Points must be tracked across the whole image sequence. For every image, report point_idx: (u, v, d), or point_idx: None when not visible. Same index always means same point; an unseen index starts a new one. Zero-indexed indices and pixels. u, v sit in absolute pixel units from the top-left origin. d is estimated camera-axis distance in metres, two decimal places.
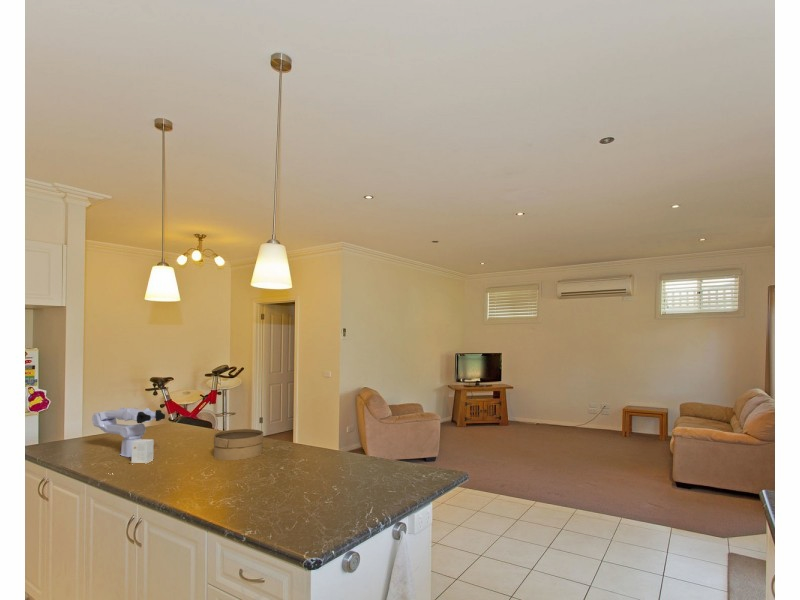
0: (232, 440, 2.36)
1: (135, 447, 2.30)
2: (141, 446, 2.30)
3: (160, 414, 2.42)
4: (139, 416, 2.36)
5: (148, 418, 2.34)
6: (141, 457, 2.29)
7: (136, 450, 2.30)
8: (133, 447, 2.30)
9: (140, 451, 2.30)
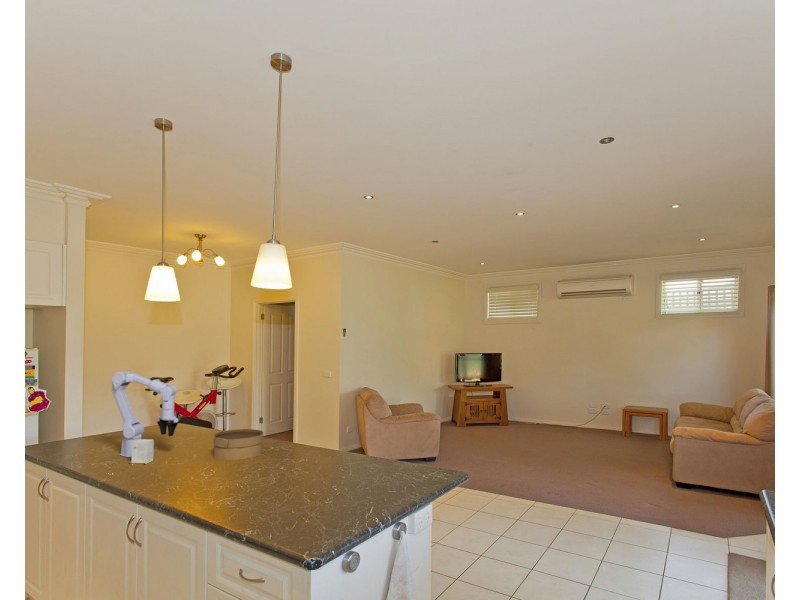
0: (232, 440, 2.36)
1: (135, 447, 2.30)
2: (141, 446, 2.30)
3: (165, 428, 2.48)
4: None
5: (171, 434, 2.44)
6: (141, 457, 2.29)
7: (136, 450, 2.30)
8: (133, 447, 2.30)
9: (140, 451, 2.30)
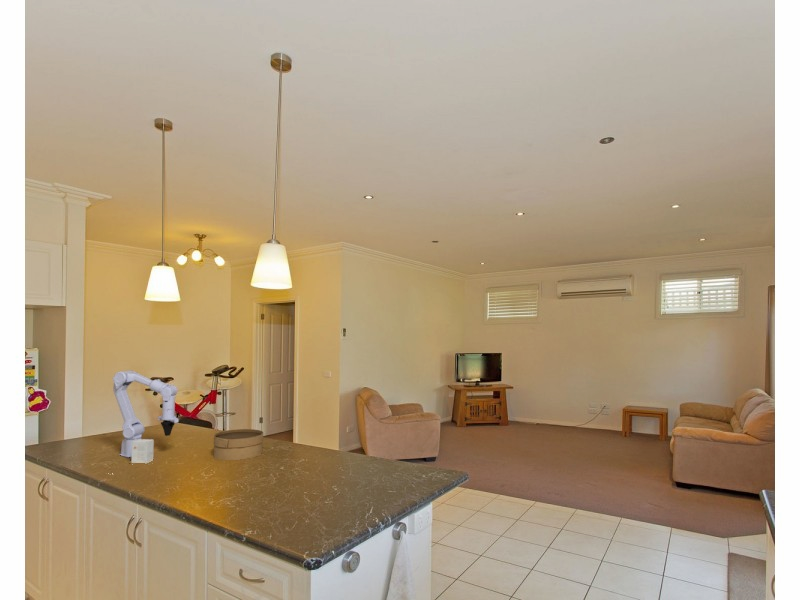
0: (232, 440, 2.36)
1: (135, 447, 2.30)
2: (141, 446, 2.30)
3: None
4: (171, 423, 2.45)
5: (168, 434, 2.45)
6: (141, 457, 2.29)
7: (136, 450, 2.30)
8: (133, 447, 2.30)
9: (140, 451, 2.30)
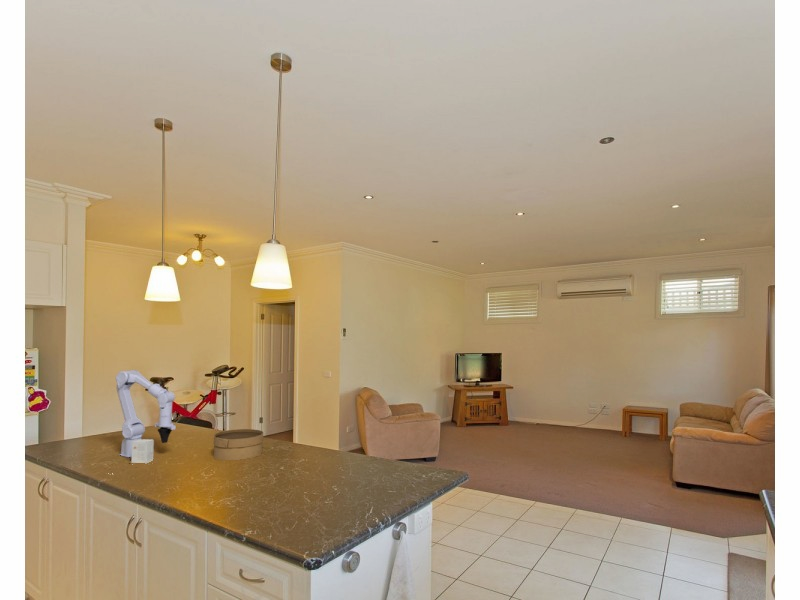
0: (232, 440, 2.36)
1: (135, 447, 2.30)
2: (141, 446, 2.30)
3: None
4: (168, 430, 2.42)
5: (165, 441, 2.42)
6: (141, 457, 2.29)
7: (136, 450, 2.30)
8: (133, 447, 2.30)
9: (140, 451, 2.30)
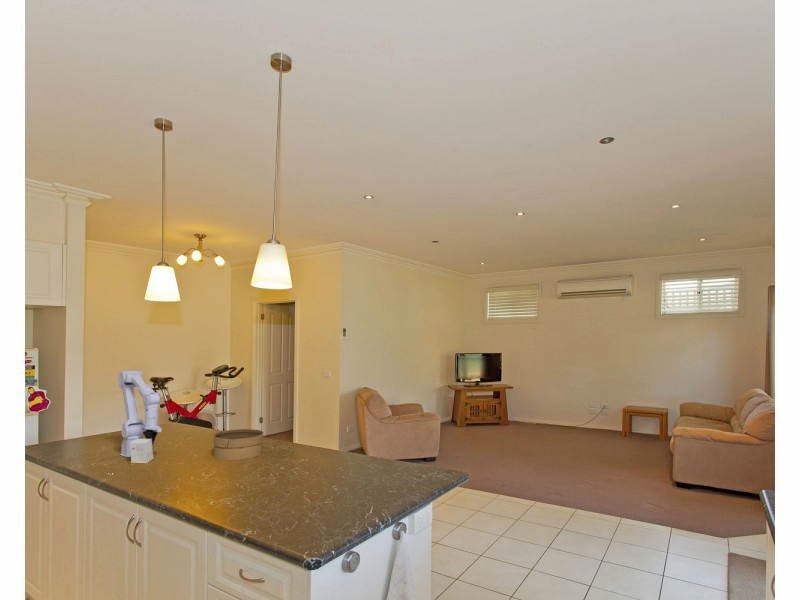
0: (232, 440, 2.36)
1: (133, 448, 2.29)
2: (139, 447, 2.29)
3: (152, 438, 2.37)
4: (154, 432, 2.36)
5: None
6: (140, 457, 2.29)
7: (134, 450, 2.29)
8: (131, 448, 2.29)
9: (139, 452, 2.29)
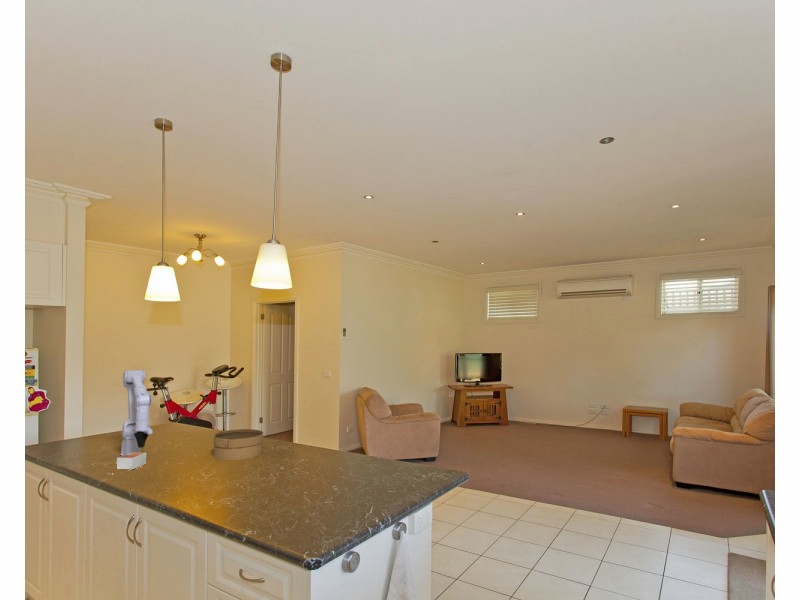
0: (232, 440, 2.36)
1: None
2: None
3: None
4: (145, 434, 2.32)
5: (141, 446, 2.31)
6: None
7: None
8: None
9: None
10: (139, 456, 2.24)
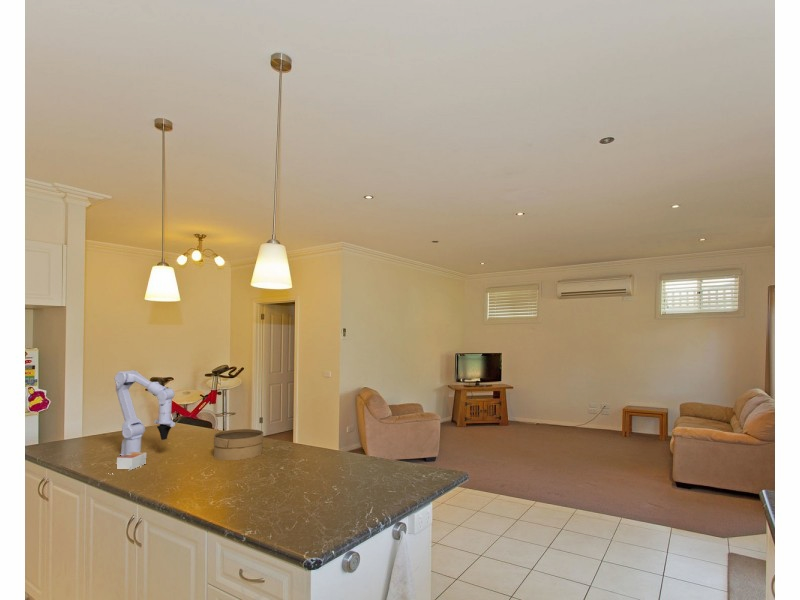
0: (232, 440, 2.36)
1: None
2: None
3: None
4: (167, 427, 2.42)
5: (164, 438, 2.42)
6: None
7: None
8: None
9: None
10: (139, 456, 2.24)
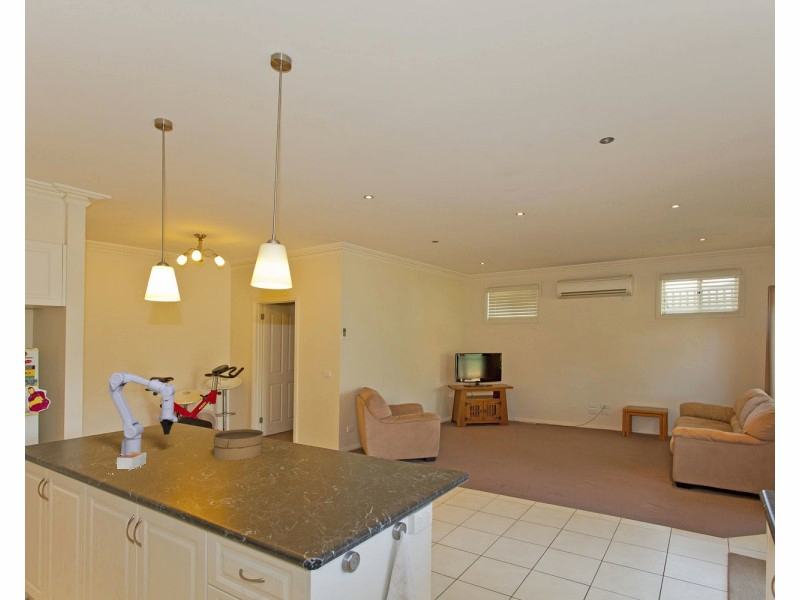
0: (232, 440, 2.36)
1: None
2: None
3: None
4: (170, 422, 2.48)
5: (167, 433, 2.47)
6: None
7: None
8: None
9: None
10: (139, 456, 2.24)
